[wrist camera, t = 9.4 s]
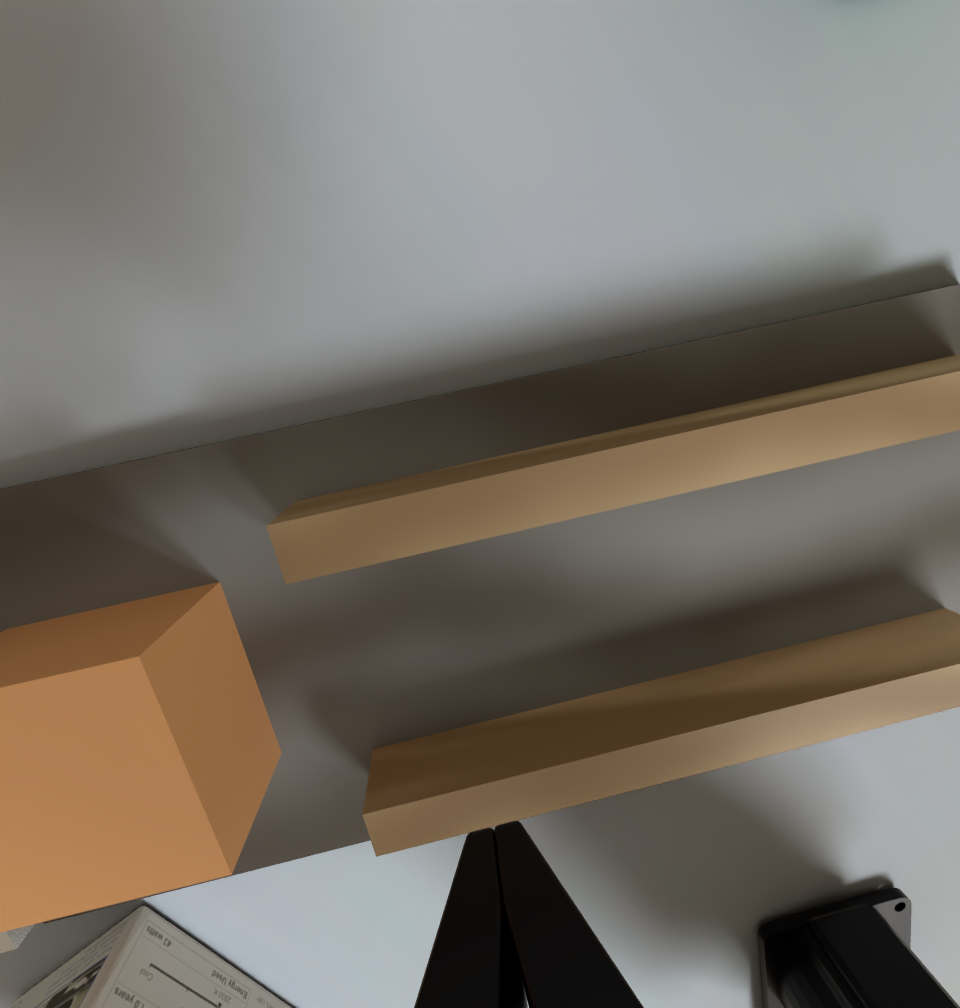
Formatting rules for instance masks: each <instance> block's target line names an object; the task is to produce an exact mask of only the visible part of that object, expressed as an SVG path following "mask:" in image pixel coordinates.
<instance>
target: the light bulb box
mask: <svg viewBox="0 0 960 1008" xmlns="http://www.w3.org/2000/svg"><path fill="white" fill-rule="evenodd" d="M11 1008H292V1007H290V1006H289V1005H287V1004H286V1003H284V1002H283V1001H281V1000H280V999H279V998H277V997H276V996H274V995H273V994H271V993H270V992H269V991H267V990H266V989H264V988H263V987H261V986H260V985H259V984H257V983H256V982H254V981H253V980H251V979H250V978H249V977H247V976H246V975H244V974H243V973H241V972H240V971H238V970H237V969H236V968H234V967H233V966H231V965H230V964H228V963H227V962H226V961H224V960H223V959H221V958H220V957H218V956H217V955H216V954H214V953H213V952H211V951H210V950H208V949H207V948H206V947H204V946H203V945H201V944H200V943H198V942H197V941H196V940H194V939H193V938H191V937H190V936H188V935H187V934H185V933H184V932H183V931H181V930H180V929H178V928H177V927H175V926H174V925H172V924H171V923H170V922H168V921H167V920H165V919H164V918H162V917H161V916H159V915H158V914H157V913H155V912H154V911H152V910H151V909H149V908H148V907H146V906H141V907H139V908H138V909H137V910H135V911H134V912H133V913H131V914H130V915H129V916H127V917H126V918H124V919H123V920H122V921H121V922H119V923H118V924H117V925H115V926H114V927H113V928H111V929H110V930H109V931H107V932H106V933H105V934H103V935H102V936H101V937H99V938H98V939H97V940H95V941H94V942H93V943H92V944H90V945H89V946H88V947H86V948H85V949H84V950H82V951H81V952H80V953H78V954H77V955H76V956H74V957H73V958H72V959H70V960H69V961H68V962H66V963H65V964H64V965H62V966H61V967H60V968H58V969H57V970H56V971H54V972H53V973H52V974H50V975H49V976H48V977H46V978H45V979H44V980H42V981H41V982H40V983H38V984H37V985H36V986H34V987H33V988H32V989H30V990H29V991H28V992H26V993H25V994H24V995H22V996H21V997H20V998H19V999H17V1000H16V1001H15V1002H14V1003H13V1005H12V1006H11Z"/></svg>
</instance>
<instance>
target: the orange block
mask: <svg viewBox="0 0 960 1008" xmlns="http://www.w3.org/2000/svg"><path fill="white" fill-rule="evenodd" d="M281 753H282V752H281V749H280V747H279V744H278V741H277V738H276V736H275V733H274V730H273V727H272V725H271V722H270V719H269V716H268V714H267V711H266V708H265V705H264V702H263V700H262V697H261V694H260V691H259V689H258V686H257V683H256V680H255V678H254V675H253V672H252V669H251V667H250V664H249V661H248V658H247V656H246V653H245V650H244V647H243V644H242V642H241V639H240V636H239V633H238V631H237V628H236V625H235V622H234V620H233V617H232V614H231V611H230V609H229V606H228V603H227V600H226V597H225V595H224V592H223V589H222V586H221V584H220V582H217V583H212V584H208V585H203V586H199V587H194V588H190V589H185V590H181V591H176V592H172V593H167V594H162V595H158V596H153V597H149V598H144V599H140V600H135V601H131V602H126V603H122V604H117V605H113V606H108V607H104V608H99V609H95V610H90V611H86V612H81V613H76V614H72V615H67V616H63V617H58V618H54V619H49V620H45V621H40V622H36V623H31V624H27V625H22V626H18V627H13V628H9V629H6V630H4V631H2V632H1V633H0V933H1V932H5V931H9V930H13V929H17V928H21V927H25V926H29V925H33V924H37V923H41V922H45V921H49V920H53V919H57V918H61V917H65V916H69V915H73V914H77V913H81V912H85V911H89V910H93V909H97V908H101V907H105V906H109V905H113V904H117V903H121V902H125V901H129V900H133V899H137V898H141V897H145V896H149V895H153V894H157V893H161V892H165V891H169V890H173V889H177V888H181V887H185V886H189V885H193V884H197V883H201V882H205V881H209V880H213V879H217V878H221V877H225V876H229V875H232V873H233V870H234V868H235V866H236V863H237V861H238V858H239V856H240V853H241V851H242V848H243V846H244V844H245V841H246V839H247V836H248V834H249V831H250V829H251V826H252V824H253V822H254V819H255V817H256V814H257V812H258V809H259V807H260V804H261V802H262V800H263V797H264V795H265V792H266V790H267V787H268V785H269V782H270V780H271V778H272V775H273V773H274V770H275V768H276V765H277V763H278V760H279V758H280V756H281Z"/></svg>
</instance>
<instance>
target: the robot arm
mask: <svg viewBox="0 0 960 1008" xmlns="http://www.w3.org/2000/svg"><path fill="white" fill-rule="evenodd" d="M910 936H911V901H910V900H909V899H908V897H907V896H906V895H905V894H904V893H903V892H902V891H901V890H900V889H898V888H891V889H888V890H884V891H880V892H877V893H873V894H869V895H866V896H862V897H858V898H855V899H851V900H847V901H844V902H840V903H836V904H833V905H829V906H826V907H822V908H818V909H815V910H811V911H807V912H804V913H800V914H796V915H793V916H789V917H785V918H782V919H778V920H774V921H771V922H768V923H765V924H763V925H762V926H761V927H760V928H759V930H758V944H759V956H760V969H761V981H762V993H763V1005H764V1008H960V1007H959V1006H958V1004H957V1003H956V1002H955V1001H954V1000H953V998H952V997H951V996H950V995H949V994H948V993H947V991H946V990H945V989H944V988H943V987H942V986H941V984H940V983H939V982H938V981H937V980H936V979H935V977H934V976H933V975H932V974H931V973H930V972H929V970H928V969H927V968H926V967H925V966H924V965H923V963H922V962H921V961H920V960H919V959H918V957H917V956H916V955H915V954H914V953H913V952H912V950H911V949H910ZM526 997H527V999H526ZM527 1001H528V1005H529V1008H644V1007H643V1006H642V1004H641V1003H640V1001H639V1000H638V998H637V997H636V995H635V994H634V992H633V991H632V989H631V988H630V986H629V985H628V983H627V982H626V980H625V979H624V977H623V976H622V974H621V973H620V971H619V970H618V968H617V967H616V965H615V964H614V962H613V961H612V959H611V958H610V956H609V955H608V953H607V952H606V950H605V949H604V947H603V946H602V944H601V943H600V941H599V940H598V938H597V937H596V935H595V934H594V932H593V931H592V929H591V928H590V926H589V925H588V923H587V922H586V920H585V919H584V917H583V916H582V914H581V913H580V911H579V910H578V908H577V907H576V905H575V904H574V902H573V901H572V899H571V898H570V896H569V895H568V893H567V892H566V890H565V889H564V887H563V886H562V884H561V883H560V881H559V880H558V878H557V877H556V875H555V874H554V872H553V871H552V869H551V868H550V866H549V865H548V863H547V862H546V860H545V859H544V857H543V856H542V854H541V853H540V851H539V850H538V848H537V847H536V845H535V844H534V842H533V841H532V839H531V838H530V836H529V835H528V833H527V832H526V830H525V829H524V827H523V826H522V824H521V823H520V822H519V821H512V822H508V823H504V824H500V825H497V826H496V827H495V830H493V829H492V828H489V827H488V828H485V829H481V830H477V831H473V832H470V833H469V834H468V835H467V838H466V840H465V843H464V847H463V850H462V853H461V856H460V860H459V863H458V866H457V869H456V873H455V876H454V879H453V882H452V886H451V889H450V892H449V896H448V899H447V902H446V905H445V909H444V912H443V915H442V918H441V922H440V925H439V928H438V931H437V935H436V938H435V941H434V944H433V948H432V951H431V954H430V957H429V961H428V964H427V967H426V970H425V974H424V977H423V980H422V984H421V987H420V990H419V993H418V997H417V1000H416V1003H415V1006H414V1008H528V1006H527Z"/></svg>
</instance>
